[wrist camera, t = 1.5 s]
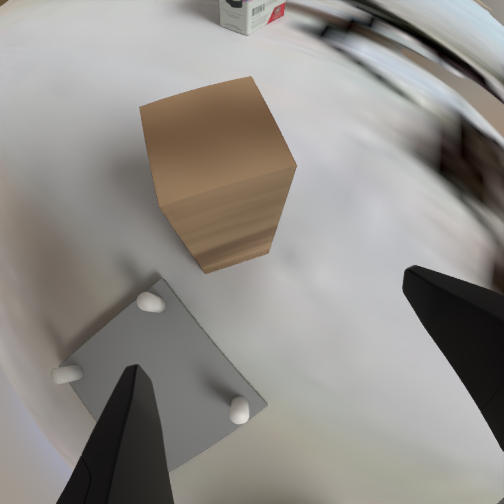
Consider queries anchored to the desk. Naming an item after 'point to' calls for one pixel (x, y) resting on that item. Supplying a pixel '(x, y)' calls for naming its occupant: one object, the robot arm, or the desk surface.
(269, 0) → the ink box
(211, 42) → the desk surface
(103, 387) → the peg plate
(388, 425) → the desk surface
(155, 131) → the walnut block
